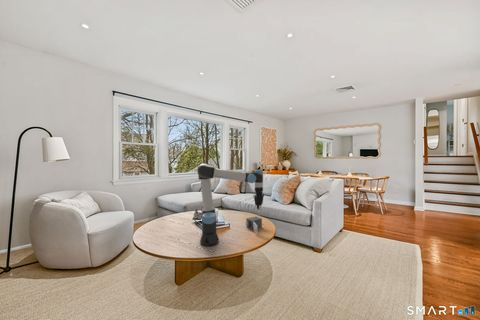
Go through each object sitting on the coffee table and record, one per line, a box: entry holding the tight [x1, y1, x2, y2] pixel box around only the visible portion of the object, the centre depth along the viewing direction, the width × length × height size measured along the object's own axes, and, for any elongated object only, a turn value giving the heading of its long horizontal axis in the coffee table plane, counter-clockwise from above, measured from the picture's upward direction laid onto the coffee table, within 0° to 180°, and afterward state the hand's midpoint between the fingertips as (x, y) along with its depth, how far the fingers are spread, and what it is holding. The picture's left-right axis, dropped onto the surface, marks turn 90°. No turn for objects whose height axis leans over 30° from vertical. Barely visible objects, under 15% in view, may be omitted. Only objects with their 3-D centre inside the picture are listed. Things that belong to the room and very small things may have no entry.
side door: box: [252, 221, 259, 235], centre depth 192 cm, size 12×2×8 cm, turn 13°
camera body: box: [245, 215, 263, 231], centre depth 205 cm, size 14×9×10 cm, turn 127°
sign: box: [192, 206, 203, 221], centre depth 224 cm, size 22×3×20 cm, turn 94°
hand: (258, 212), depth 192 cm, fingers closed
